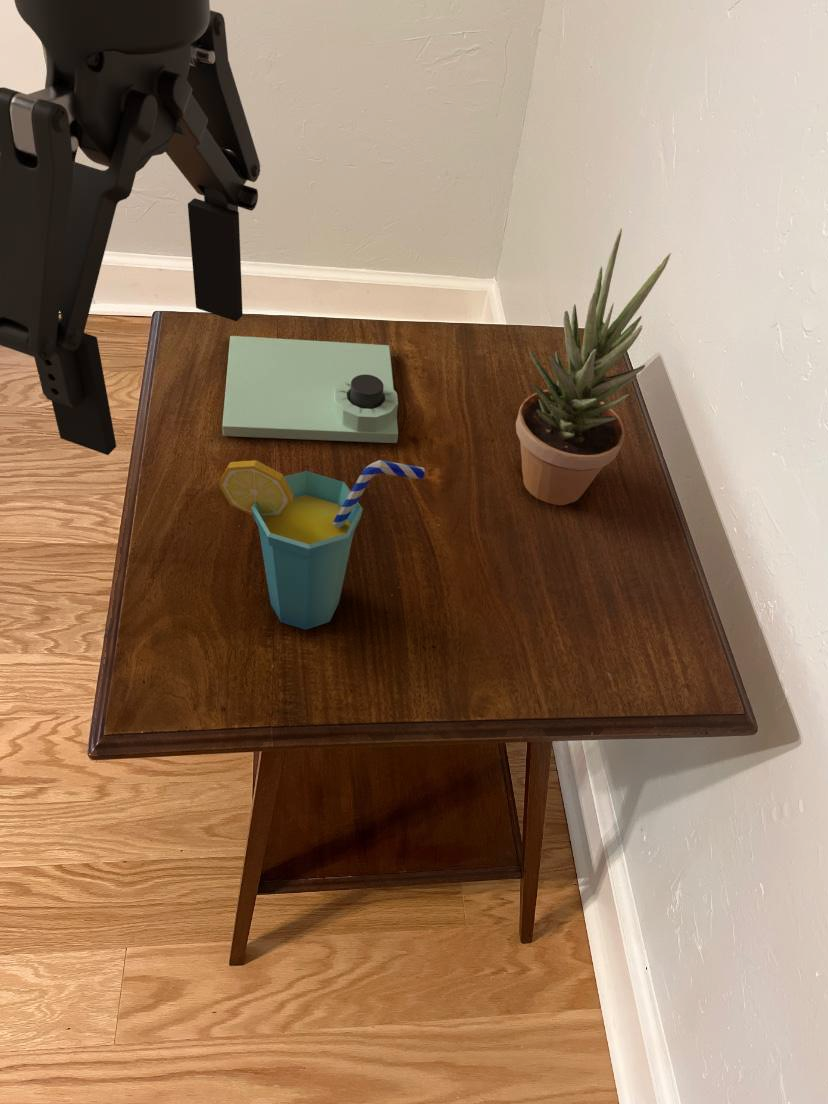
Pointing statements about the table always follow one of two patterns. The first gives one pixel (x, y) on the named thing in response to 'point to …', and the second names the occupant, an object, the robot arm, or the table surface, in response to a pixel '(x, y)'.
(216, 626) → the table surface
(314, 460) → the table surface
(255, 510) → the cup
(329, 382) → the scale
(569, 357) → the potted plant
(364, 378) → the tare button
